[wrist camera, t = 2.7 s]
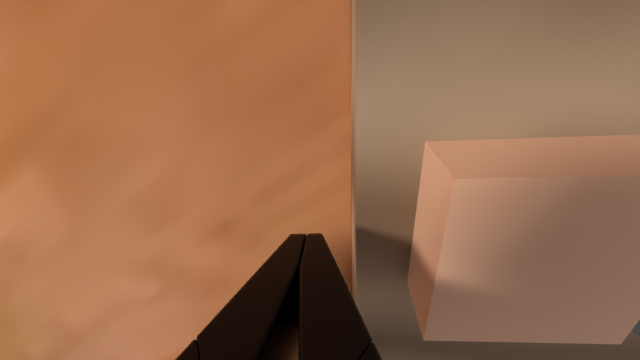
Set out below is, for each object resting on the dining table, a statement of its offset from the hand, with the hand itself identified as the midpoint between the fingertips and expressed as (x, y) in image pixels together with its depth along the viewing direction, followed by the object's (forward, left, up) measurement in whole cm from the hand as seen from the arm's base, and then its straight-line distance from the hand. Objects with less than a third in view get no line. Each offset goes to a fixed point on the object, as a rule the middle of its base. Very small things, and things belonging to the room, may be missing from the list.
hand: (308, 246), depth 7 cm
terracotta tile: (0, -6, -1) cm, 6 cm away
